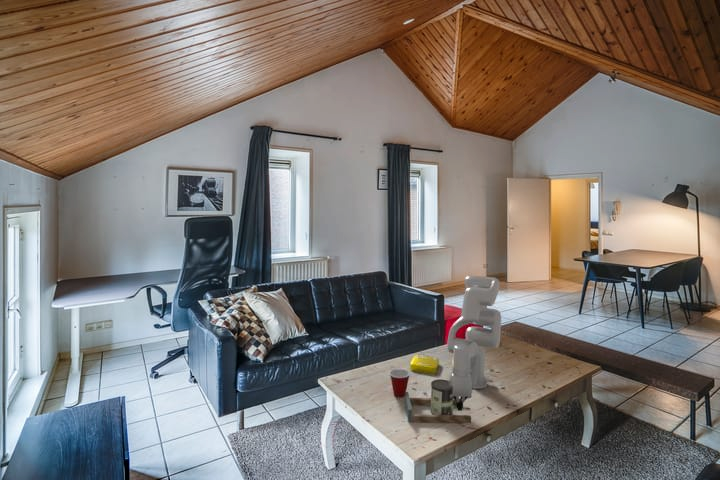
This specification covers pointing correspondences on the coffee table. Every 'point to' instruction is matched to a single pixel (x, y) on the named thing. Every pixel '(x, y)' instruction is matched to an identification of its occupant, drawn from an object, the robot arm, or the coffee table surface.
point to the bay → (431, 418)
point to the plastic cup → (399, 381)
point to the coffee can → (441, 397)
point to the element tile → (424, 364)
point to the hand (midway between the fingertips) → (459, 409)
